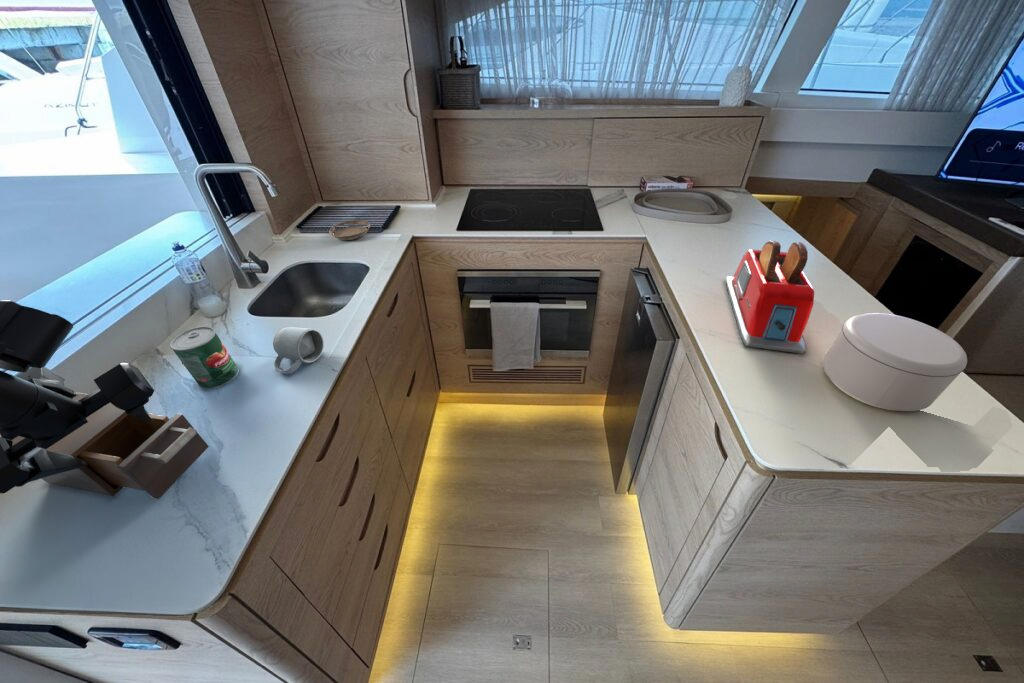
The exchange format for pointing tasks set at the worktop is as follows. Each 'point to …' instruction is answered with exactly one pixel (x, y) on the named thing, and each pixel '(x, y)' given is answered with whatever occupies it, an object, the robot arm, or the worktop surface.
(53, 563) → the worktop surface
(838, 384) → the container
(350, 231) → the saucer
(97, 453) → the drawer
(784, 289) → the toaster
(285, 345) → the ceramic mug
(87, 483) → the storage box
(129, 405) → the robot arm
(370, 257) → the worktop surface
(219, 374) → the canned tomato
